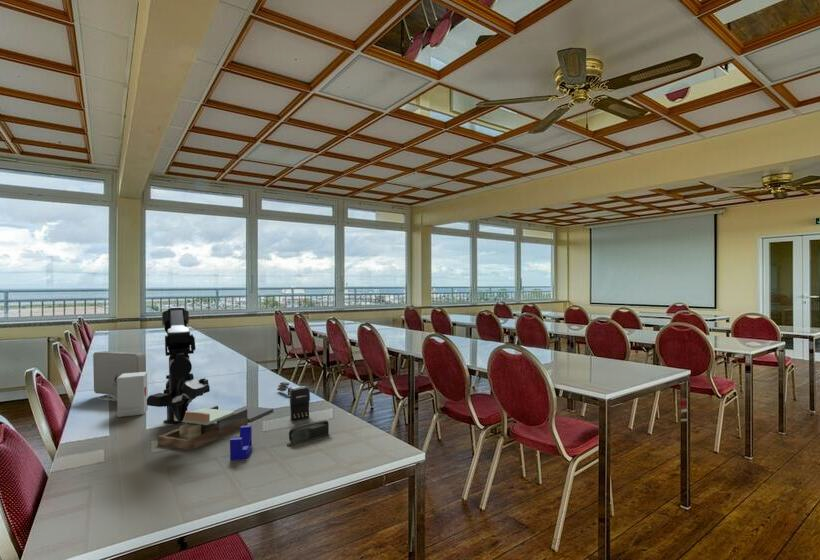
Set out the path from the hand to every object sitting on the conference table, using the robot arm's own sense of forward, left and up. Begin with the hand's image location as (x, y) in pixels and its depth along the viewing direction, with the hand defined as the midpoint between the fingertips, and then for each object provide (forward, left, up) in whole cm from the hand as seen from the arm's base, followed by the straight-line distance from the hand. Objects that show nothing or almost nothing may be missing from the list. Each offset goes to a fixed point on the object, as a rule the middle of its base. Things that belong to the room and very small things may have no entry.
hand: (180, 421), depth 139 cm
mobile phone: (+36, +16, -8) cm, 40 cm away
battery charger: (+21, +33, -7) cm, 40 cm away
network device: (-72, +33, -7) cm, 80 cm away
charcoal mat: (-1, +31, -7) cm, 32 cm away
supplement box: (-46, +19, -7) cm, 50 cm away
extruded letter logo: (0, +57, -8) cm, 58 cm away
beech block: (0, +4, -7) cm, 8 cm away
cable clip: (+23, +2, -8) cm, 24 cm away
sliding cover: (0, +10, -2) cm, 10 cm away
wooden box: (0, +10, -7) cm, 12 cm away
